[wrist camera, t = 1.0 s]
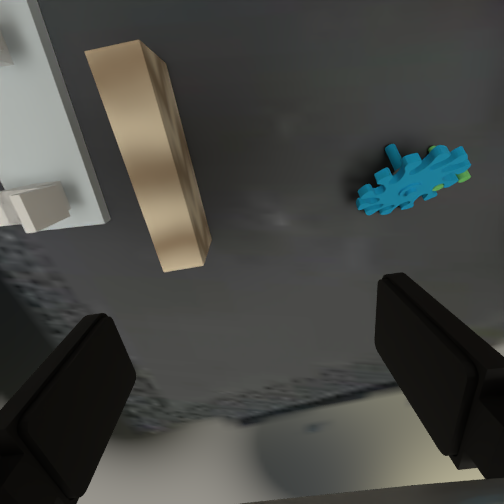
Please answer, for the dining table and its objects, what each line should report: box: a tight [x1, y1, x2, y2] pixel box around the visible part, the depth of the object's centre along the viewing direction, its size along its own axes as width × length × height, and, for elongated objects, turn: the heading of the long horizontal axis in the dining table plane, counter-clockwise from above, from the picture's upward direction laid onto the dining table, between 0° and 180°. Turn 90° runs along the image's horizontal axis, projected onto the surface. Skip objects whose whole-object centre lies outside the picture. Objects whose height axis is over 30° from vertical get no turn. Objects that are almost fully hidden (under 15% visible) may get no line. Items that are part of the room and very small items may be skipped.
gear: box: [356, 144, 471, 215], centre depth 27 cm, size 11×6×10 cm
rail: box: [84, 40, 212, 272], centre depth 25 cm, size 18×4×7 cm, turn 10°
